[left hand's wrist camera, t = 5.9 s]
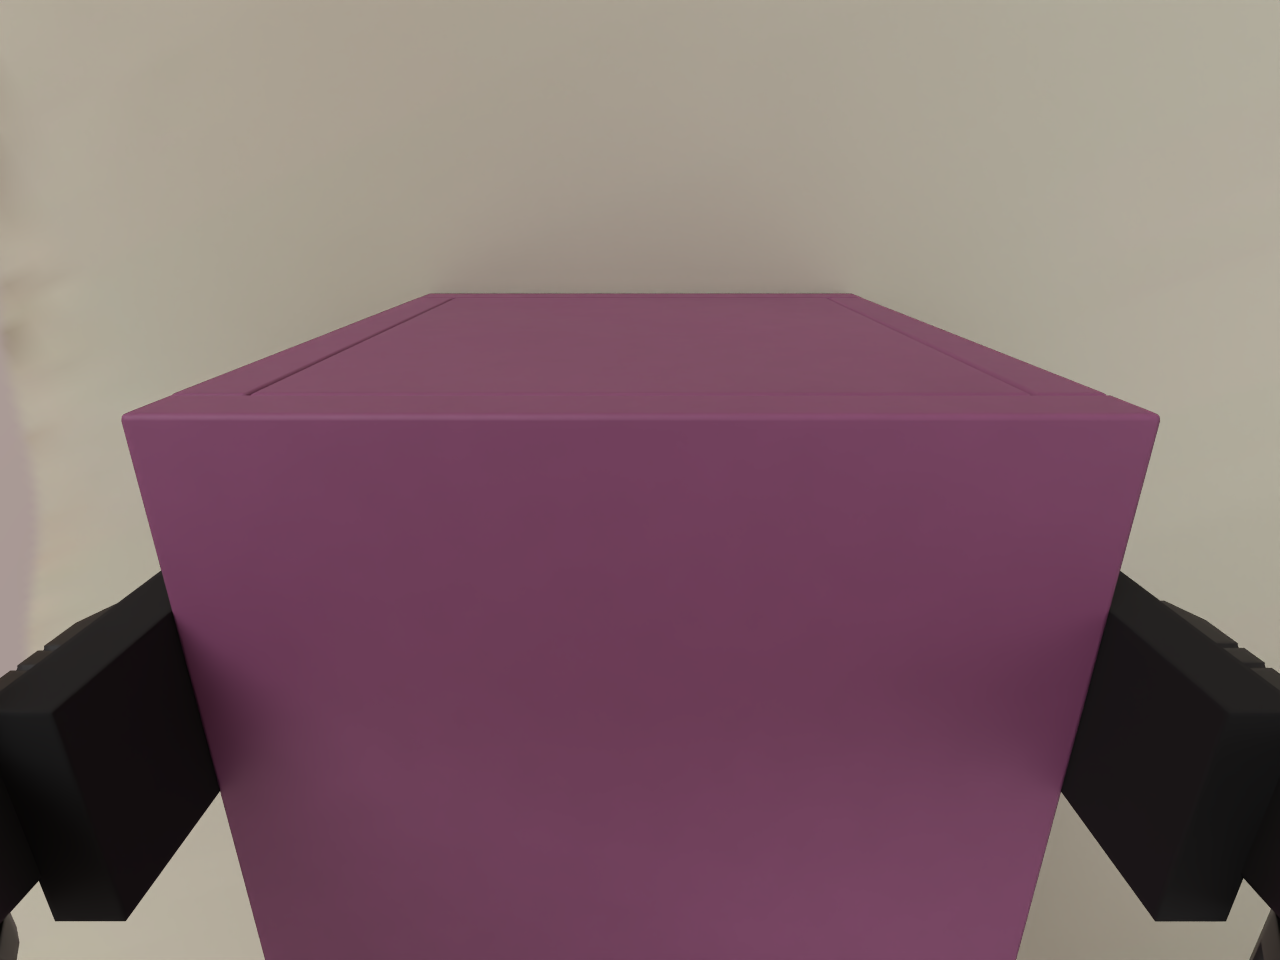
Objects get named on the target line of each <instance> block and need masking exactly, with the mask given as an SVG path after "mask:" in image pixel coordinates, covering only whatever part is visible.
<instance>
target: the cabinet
mask: <svg viewBox="0 0 1280 960" xmlns="http://www.w3.org/2000/svg"><path fill="white" fill-rule="evenodd" d="M1159 423H1160V417H1159V415H1158V414H1155V413H1153V412H1151V411H1148V410H1146V409H1143V408H1141V407H1138V406H1135V405H1133V404H1130V403H1128V402H1125V401H1123V400H1120V399H1118V398H1115V397H1113V396H1106V394H1104V393H1102V392H1099V391H1097V390H1094V389H1092V388H1089V387H1086V386H1084V385H1081V384H1079V383H1076V382H1074V381H1071V380H1069V379H1066V378H1064V377H1061V376H1059V375H1056V374H1053V373H1051V372H1048V371H1046V370H1043V369H1041V368H1038V367H1036V366H1033V365H1031V364H1028V363H1026V362H1023V361H1020V360H1018V359H1015V358H1013V357H1010V356H1008V355H1005V354H1003V353H1000V352H998V351H995V350H993V349H990V348H987V347H985V346H982V345H980V344H977V343H975V342H972V341H970V340H967V339H965V338H962V337H960V336H957V335H954V334H952V333H949V332H947V331H944V330H942V329H939V328H937V327H934V326H932V325H929V324H927V323H924V322H921V321H919V320H916V319H914V318H911V317H909V316H906V315H904V314H901V313H899V312H896V311H894V310H891V309H888V308H886V307H883V306H881V305H878V304H876V303H873V302H871V301H868V300H866V299H863V298H861V297H859V296H856V295H853V294H428V295H425V296H423V297H420V298H417V299H414V300H412V301H409V302H407V303H404V304H402V305H399V306H396V307H394V308H391V309H389V310H386V311H384V312H381V313H379V314H376V315H373V316H371V317H368V318H366V319H363V320H361V321H358V322H356V323H353V324H350V325H348V326H345V327H343V328H340V329H338V330H335V331H333V332H330V333H327V334H325V335H322V336H320V337H317V338H315V339H312V340H310V341H307V342H304V343H302V344H299V345H297V346H294V347H292V348H289V349H287V350H284V351H281V352H279V353H276V354H274V355H271V356H269V357H266V358H264V359H261V360H258V361H256V362H253V363H251V364H248V365H246V366H243V367H241V368H238V369H235V370H233V371H230V372H228V373H225V374H223V375H220V376H218V377H215V378H212V379H210V380H207V381H205V382H202V383H200V384H197V385H195V386H192V387H189V388H187V389H184V390H182V391H179V392H177V393H174V394H173V395H171V396H169V397H166V398H163V399H161V400H158V401H156V402H153V403H151V404H148V405H146V406H143V407H141V408H138V409H135V410H133V411H130V412H128V413H126V414H124V415H123V416H122V425H123V428H124V432H125V436H126V440H127V443H128V447H129V451H130V455H131V458H132V462H133V466H134V470H135V473H136V477H137V481H138V485H139V488H140V492H141V496H142V500H143V503H144V507H145V511H146V515H147V518H148V522H149V526H150V530H151V533H152V537H153V541H154V545H155V548H156V552H157V556H158V560H159V563H160V567H161V571H162V575H163V578H164V582H165V586H166V590H167V593H168V597H169V601H170V605H171V608H172V612H173V616H174V620H175V623H176V627H177V631H178V635H179V638H180V642H181V646H182V650H183V653H184V657H185V661H186V665H187V668H188V672H189V676H190V680H191V683H192V687H193V691H194V695H195V698H196V702H197V706H198V710H199V713H200V717H201V721H202V725H203V728H204V732H205V736H206V740H207V743H208V747H209V751H210V755H211V758H212V762H213V766H214V770H215V773H216V777H217V781H218V785H219V788H220V792H221V796H222V800H223V803H224V807H225V811H226V815H227V818H228V822H229V826H230V830H231V833H232V837H233V841H234V845H235V848H236V852H237V856H238V860H239V863H240V867H241V871H242V875H243V878H244V882H245V886H246V890H247V893H248V897H249V901H250V905H251V908H252V912H253V916H254V920H255V923H256V927H257V931H258V935H259V938H260V942H261V946H262V950H263V953H264V957H265V960H1016V958H1017V954H1018V950H1019V947H1020V943H1021V939H1022V935H1023V932H1024V928H1025V924H1026V920H1027V917H1028V913H1029V909H1030V906H1031V902H1032V898H1033V894H1034V891H1035V887H1036V883H1037V879H1038V876H1039V872H1040V868H1041V864H1042V861H1043V857H1044V853H1045V849H1046V846H1047V842H1048V838H1049V834H1050V831H1051V827H1052V823H1053V819H1054V816H1055V812H1056V808H1057V804H1058V801H1059V797H1060V793H1061V789H1062V786H1063V782H1064V778H1065V775H1066V771H1067V767H1068V763H1069V760H1070V756H1071V752H1072V748H1073V745H1074V741H1075V737H1076V733H1077V730H1078V726H1079V722H1080V718H1081V715H1082V711H1083V707H1084V703H1085V700H1086V696H1087V692H1088V688H1089V685H1090V681H1091V677H1092V673H1093V670H1094V666H1095V662H1096V658H1097V655H1098V651H1099V647H1100V643H1101V640H1102V636H1103V632H1104V629H1105V625H1106V621H1107V617H1108V614H1109V610H1110V606H1111V602H1112V599H1113V595H1114V591H1115V587H1116V584H1117V580H1118V576H1119V572H1120V569H1121V565H1122V561H1123V557H1124V554H1125V550H1126V546H1127V542H1128V539H1129V535H1130V531H1131V527H1132V524H1133V520H1134V516H1135V512H1136V509H1137V505H1138V501H1139V497H1140V494H1141V490H1142V486H1143V483H1144V479H1145V475H1146V471H1147V468H1148V464H1149V460H1150V456H1151V453H1152V449H1153V445H1154V441H1155V438H1156V434H1157V430H1158V426H1159Z"/></svg>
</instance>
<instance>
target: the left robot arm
mask: <svg viewBox="0 0 1280 960" xmlns="http://www.w3.org/2000/svg"><path fill="white" fill-rule="evenodd" d="M17 667H18V668H17V670H16V671H9V672H8V673H6V674H5V675H4V676H2V677H1V678H0V960H17V954H18V948H19V938H18V932H17V927H16V925H15V922H14V920H13V918H12V915H11V913H10V912H11V911H12V910H13V909H14V908H15V906H16V905H17V904H18V903H19V902H20V901H21V900H22V899H23V898H24V896H25V895H26V894H27V893H28V892H29V891H30V890H31V889H32V888H33V886H34V885H35V884H36V883H37V882H38V881H39V882H40V885H41V887H42V890H43V892H44V895H45V897H46V900H47V902H48V905H49V907H50V910H51V912H52V915H53V917H54V919H55V921H126V920H127V919H128V917H129V916H130V914H131V913H132V912H133V910H134V909H135V908H136V906H137V905H138V903H139V902H140V901H141V899H142V898H143V897H144V895H145V894H146V892H147V891H148V890H149V888H150V887H151V885H152V884H153V883H154V881H155V880H156V879H157V877H158V876H159V874H160V873H161V872H162V870H163V869H164V868H165V866H166V865H167V863H168V862H169V861H170V859H171V858H172V857H173V855H174V854H175V852H176V851H177V850H178V848H179V847H180V845H181V844H182V843H183V841H184V840H185V839H186V837H187V836H188V834H189V833H190V832H191V830H192V829H193V828H194V826H195V825H196V823H197V822H198V821H199V819H200V818H201V817H202V815H203V814H204V812H205V811H206V810H207V808H208V807H209V805H210V804H211V803H212V801H213V800H214V799H215V797H216V796H217V794H218V793H219V792H220V788H219V785H218V781H217V777H216V773H215V770H214V766H213V762H212V758H211V755H210V751H209V747H208V743H207V740H206V736H205V732H204V728H203V725H202V721H201V717H200V713H199V710H198V706H197V702H196V698H195V695H194V691H193V687H192V683H191V680H190V676H189V672H188V668H187V665H186V661H185V657H184V653H183V650H182V646H181V642H180V638H179V635H178V631H177V627H176V623H175V620H174V616H173V612H172V608H171V605H170V601H169V597H168V593H167V590H166V586H165V582H164V578H163V575H162V571H160V572H159V573H157V574H156V575H155V576H153V577H152V578H151V579H149V580H148V581H147V582H145V583H144V584H143V585H141V586H140V587H139V588H137V589H136V590H135V591H133V592H132V593H131V594H129V595H128V596H127V597H125V598H124V599H123V600H121V601H120V602H119V603H117V604H115V605H113V606H111V607H108V608H106V609H104V610H102V611H100V612H98V613H96V614H94V615H92V616H89V617H87V618H85V619H83V620H81V621H79V622H77V623H75V624H74V625H72V626H71V627H70V628H68V629H67V630H66V631H64V632H63V633H61V634H60V635H59V636H57V637H56V638H55V639H53V640H52V641H50V642H49V643H48V644H46V645H45V646H44V650H43V651H37V652H35V653H34V654H33V655H31V656H30V657H28V658H27V659H26V660H24V661H23V662H22V663H20V664H19V665H18V666H17ZM1061 792H1062V793H1063V795H1064V796H1065V798H1066V799H1067V800H1068V802H1069V803H1070V804H1071V806H1072V807H1073V809H1074V810H1075V811H1076V813H1077V814H1078V815H1079V817H1080V818H1081V820H1082V821H1083V822H1084V824H1085V825H1086V826H1087V828H1088V829H1089V831H1090V832H1091V833H1092V835H1093V836H1094V838H1095V839H1096V840H1097V842H1098V843H1099V844H1100V846H1101V847H1102V849H1103V850H1104V851H1105V853H1106V854H1107V855H1108V857H1109V858H1110V860H1111V861H1112V862H1113V864H1114V865H1115V866H1116V868H1117V869H1118V871H1119V872H1120V873H1121V875H1122V876H1123V877H1124V879H1125V880H1126V882H1127V883H1128V884H1129V886H1130V887H1131V889H1132V890H1133V891H1134V893H1135V894H1136V895H1137V897H1138V898H1139V900H1140V901H1141V902H1142V904H1143V905H1144V906H1145V908H1146V909H1147V911H1148V912H1149V913H1150V915H1151V916H1152V917H1153V919H1154V920H1155V921H1226V920H1227V917H1228V915H1229V912H1230V910H1231V907H1232V905H1233V902H1234V900H1235V897H1236V895H1237V892H1238V890H1239V887H1240V885H1241V883H1242V880H1243V878H1244V879H1245V880H1246V881H1247V882H1248V884H1249V885H1250V886H1251V887H1252V888H1253V889H1254V890H1255V891H1256V892H1257V894H1258V895H1259V896H1260V897H1261V898H1262V899H1263V900H1264V901H1265V902H1266V903H1267V905H1268V906H1269V907H1270V908H1271V911H1270V913H1269V915H1268V918H1267V920H1266V922H1265V925H1264V927H1263V929H1262V932H1261V934H1260V936H1259V939H1258V941H1257V943H1256V946H1255V948H1254V950H1253V953H1252V955H1251V957H1250V960H1280V674H1279V673H1278V672H1277V671H1275V670H1274V669H1273V668H1266V667H1265V663H1264V662H1263V661H1261V660H1260V659H1259V658H1257V657H1256V656H1255V655H1253V654H1252V653H1250V652H1249V651H1248V650H1246V649H1245V648H1238V643H1237V642H1235V641H1234V640H1232V639H1231V638H1230V637H1228V636H1227V635H1225V634H1224V633H1223V632H1221V631H1220V630H1219V629H1217V628H1216V627H1214V626H1213V625H1212V624H1210V623H1209V622H1207V621H1206V620H1204V619H1202V618H1200V617H1198V616H1196V615H1193V614H1191V613H1189V612H1187V611H1185V610H1183V609H1181V608H1179V607H1176V606H1174V605H1172V604H1170V603H1168V602H1166V601H1160V600H1158V599H1157V598H1156V597H1154V596H1153V595H1152V594H1150V593H1149V592H1148V591H1146V590H1145V589H1144V588H1142V587H1141V586H1140V585H1138V584H1137V583H1136V582H1134V581H1133V580H1132V579H1130V578H1129V577H1128V576H1126V575H1125V574H1124V573H1122V572H1121V571H1120V572H1119V576H1118V580H1117V584H1116V587H1115V591H1114V595H1113V599H1112V602H1111V606H1110V610H1109V614H1108V617H1107V621H1106V625H1105V629H1104V632H1103V636H1102V640H1101V643H1100V647H1099V651H1098V655H1097V658H1096V662H1095V666H1094V670H1093V673H1092V677H1091V681H1090V685H1089V688H1088V692H1087V696H1086V700H1085V703H1084V707H1083V711H1082V715H1081V718H1080V722H1079V726H1078V730H1077V733H1076V737H1075V741H1074V745H1073V748H1072V752H1071V756H1070V760H1069V763H1068V767H1067V771H1066V775H1065V778H1064V782H1063V786H1062V789H1061Z"/></svg>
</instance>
